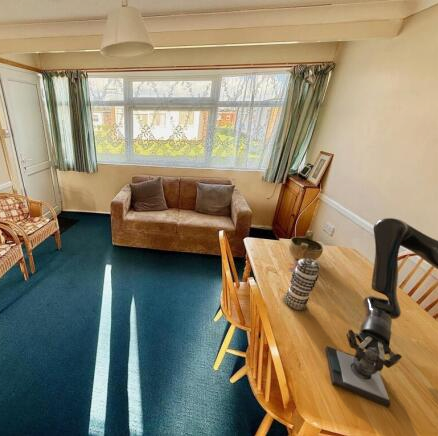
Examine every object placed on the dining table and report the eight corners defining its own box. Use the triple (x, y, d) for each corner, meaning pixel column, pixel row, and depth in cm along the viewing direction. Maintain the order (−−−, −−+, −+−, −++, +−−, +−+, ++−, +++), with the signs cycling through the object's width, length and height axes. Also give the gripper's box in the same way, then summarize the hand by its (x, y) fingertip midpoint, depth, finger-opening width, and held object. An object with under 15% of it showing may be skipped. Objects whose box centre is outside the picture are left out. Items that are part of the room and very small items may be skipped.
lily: (281, 276, 127) (291, 269, 120) (285, 260, 134) (295, 252, 126) (303, 287, 124) (315, 281, 117) (306, 270, 131) (318, 263, 123)
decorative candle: (309, 314, 103) (327, 269, 92) (287, 311, 104) (302, 267, 93) (300, 299, 111) (316, 256, 100) (280, 296, 112) (294, 254, 102)
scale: (371, 368, 81) (376, 362, 79) (386, 409, 70) (392, 403, 68) (324, 351, 87) (327, 344, 85) (330, 386, 76) (334, 380, 74)
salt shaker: (369, 384, 72) (386, 361, 67) (346, 369, 77) (361, 346, 72) (374, 373, 76) (391, 349, 70) (352, 358, 80) (366, 336, 75)
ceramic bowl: (290, 246, 154) (296, 226, 148) (320, 255, 144) (328, 234, 138) (281, 260, 139) (288, 239, 133) (315, 272, 129) (323, 250, 123)
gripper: (354, 312, 85) (344, 340, 74) (409, 337, 75) (406, 374, 65) (346, 326, 88) (336, 355, 78) (398, 352, 79) (394, 389, 68)
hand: (368, 363), depth 71 cm, fingers closed on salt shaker, 3 cm apart
